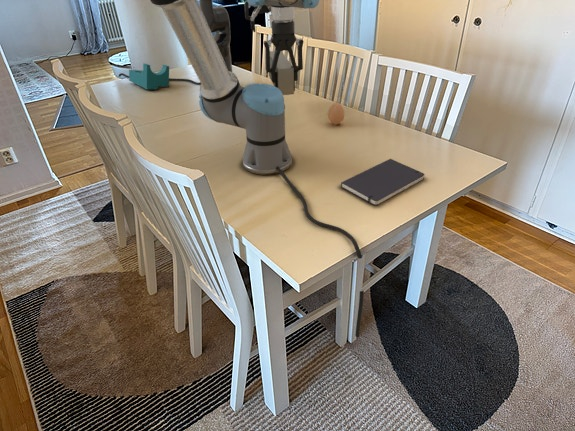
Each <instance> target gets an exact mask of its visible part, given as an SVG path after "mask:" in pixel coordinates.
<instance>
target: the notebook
mask: <svg viewBox="0 0 575 431" xmlns="http://www.w3.org/2000/svg"><path fill="white" fill-rule="evenodd" d="M424 176H425V173H424V172H422V171H420V170H417V169H415V168H413V167H410V166H408V165H406V164H404V163H401V162H399V161H397V160H395V159H393V158H389V159H387V160H385V161H382V162H380V163H379V164H377V165H375V166H372V167H370V168H368V169H366V170H364V171H362V172H360V173H358V174H356V175H353V176H351V177H350V178H348V179H345V180H344V181H341V182H340V183H341V184H340V187H341V188H342V189H344V190H345V191H347V192H349V193H350V194H353V195H355V196H356V197H358V198H360V199H362V200H363V201H365V202H367V203H369V204H371V205H373V206H379V205H381V204H382V203H384V202H386V201H388V200H390V199H391V198H393V197H395V196H397V195H398V194H400V193H402V192H404V191H406V190H407V189H409V188H411V187H413V186H415V185H416V184H418V183H420V182H422V181H423V180H424Z"/></svg>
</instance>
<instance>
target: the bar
mask: <svg viewBox="0 0 575 431" xmlns="http://www.w3.org/2000/svg"><path fill="white" fill-rule="evenodd" d="M283 52H284V51H280V54H279V58H278V62H277V67H276V71H275V72H276V73H277V80H278V89H279V90H280V91H281V92H282V94H283V96H290V95H295V91H294V68H293V66H292V63H291V61H289V59H288V58H287V57H286V55H285V54H284V53H283ZM274 54H275V50H270V68H271V67H272V62H273V58H274ZM268 77H269V79H270V80H271V73H269V72H268ZM272 86H275V85H274V83H272Z"/></svg>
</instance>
